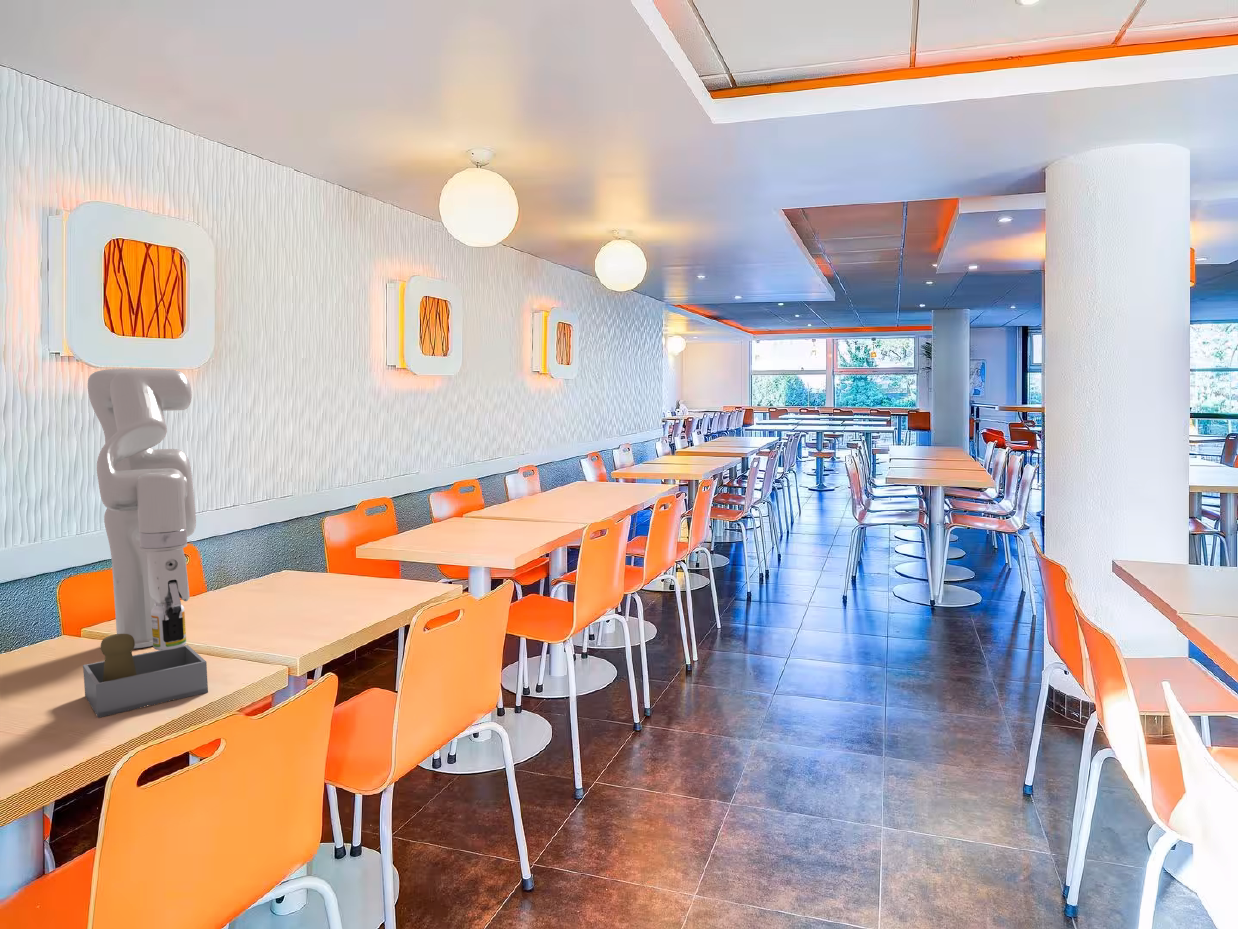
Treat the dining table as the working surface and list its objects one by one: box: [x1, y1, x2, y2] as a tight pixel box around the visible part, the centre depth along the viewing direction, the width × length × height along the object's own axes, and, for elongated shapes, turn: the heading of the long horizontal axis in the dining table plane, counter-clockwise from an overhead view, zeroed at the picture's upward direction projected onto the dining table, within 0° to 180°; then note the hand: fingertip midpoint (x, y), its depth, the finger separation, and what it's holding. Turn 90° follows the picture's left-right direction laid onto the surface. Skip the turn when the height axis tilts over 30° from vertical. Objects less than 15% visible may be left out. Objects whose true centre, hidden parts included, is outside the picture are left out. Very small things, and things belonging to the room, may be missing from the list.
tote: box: [82, 644, 209, 719], centre depth 147 cm, size 13×17×6 cm
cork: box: [100, 633, 137, 682], centre depth 144 cm, size 6×6×11 cm
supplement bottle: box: [151, 599, 187, 651], centre depth 149 cm, size 5×5×10 cm
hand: (169, 635), depth 149 cm, fingers closed on supplement bottle, 5 cm apart
